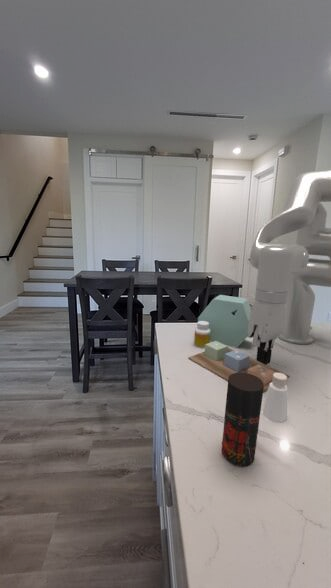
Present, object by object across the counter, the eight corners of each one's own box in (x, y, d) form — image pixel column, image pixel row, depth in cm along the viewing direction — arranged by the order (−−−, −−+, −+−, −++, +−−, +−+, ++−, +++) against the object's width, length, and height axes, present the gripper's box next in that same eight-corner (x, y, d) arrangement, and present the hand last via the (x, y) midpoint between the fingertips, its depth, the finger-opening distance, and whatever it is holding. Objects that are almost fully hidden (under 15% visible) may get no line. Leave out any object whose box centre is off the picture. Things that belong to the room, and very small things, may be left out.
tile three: (256, 376, 76) (258, 363, 75) (273, 385, 72) (275, 371, 71) (246, 382, 73) (247, 368, 72) (262, 391, 69) (264, 376, 68)
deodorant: (217, 441, 52) (223, 372, 49) (247, 440, 53) (255, 372, 49) (226, 468, 46) (234, 391, 43) (259, 466, 47) (270, 391, 44)
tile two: (234, 361, 82) (235, 349, 81) (248, 368, 78) (249, 355, 77) (223, 366, 79) (225, 353, 78) (237, 373, 75) (239, 359, 74)
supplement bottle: (208, 353, 90) (210, 326, 88) (193, 351, 91) (194, 324, 89) (209, 346, 95) (211, 320, 93) (194, 344, 96) (196, 319, 94)
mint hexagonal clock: (230, 352, 102) (266, 314, 92) (224, 360, 95) (263, 320, 86) (197, 322, 106) (229, 283, 97) (189, 328, 99) (222, 286, 90)
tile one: (214, 352, 88) (215, 340, 87) (226, 357, 84) (227, 345, 83) (204, 356, 85) (205, 343, 84) (216, 362, 81) (217, 349, 80)
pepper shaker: (265, 408, 63) (271, 366, 60) (289, 419, 59) (297, 374, 57) (256, 420, 58) (262, 375, 56) (282, 433, 55) (290, 385, 53)
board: (221, 350, 93) (222, 345, 92) (288, 381, 74) (289, 375, 74) (188, 363, 83) (188, 357, 82) (255, 402, 65) (256, 395, 64)
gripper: (273, 289, 74) (266, 349, 79) (240, 297, 65) (234, 364, 70) (300, 294, 68) (290, 359, 73) (267, 304, 60) (259, 377, 64)
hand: (263, 361), depth 72 cm, fingers closed
